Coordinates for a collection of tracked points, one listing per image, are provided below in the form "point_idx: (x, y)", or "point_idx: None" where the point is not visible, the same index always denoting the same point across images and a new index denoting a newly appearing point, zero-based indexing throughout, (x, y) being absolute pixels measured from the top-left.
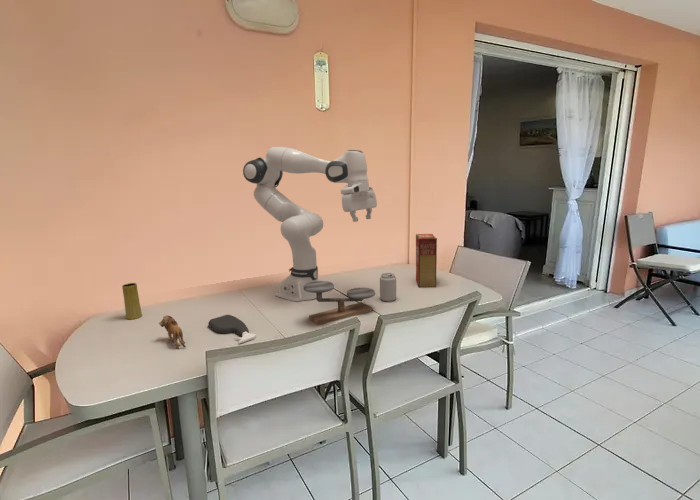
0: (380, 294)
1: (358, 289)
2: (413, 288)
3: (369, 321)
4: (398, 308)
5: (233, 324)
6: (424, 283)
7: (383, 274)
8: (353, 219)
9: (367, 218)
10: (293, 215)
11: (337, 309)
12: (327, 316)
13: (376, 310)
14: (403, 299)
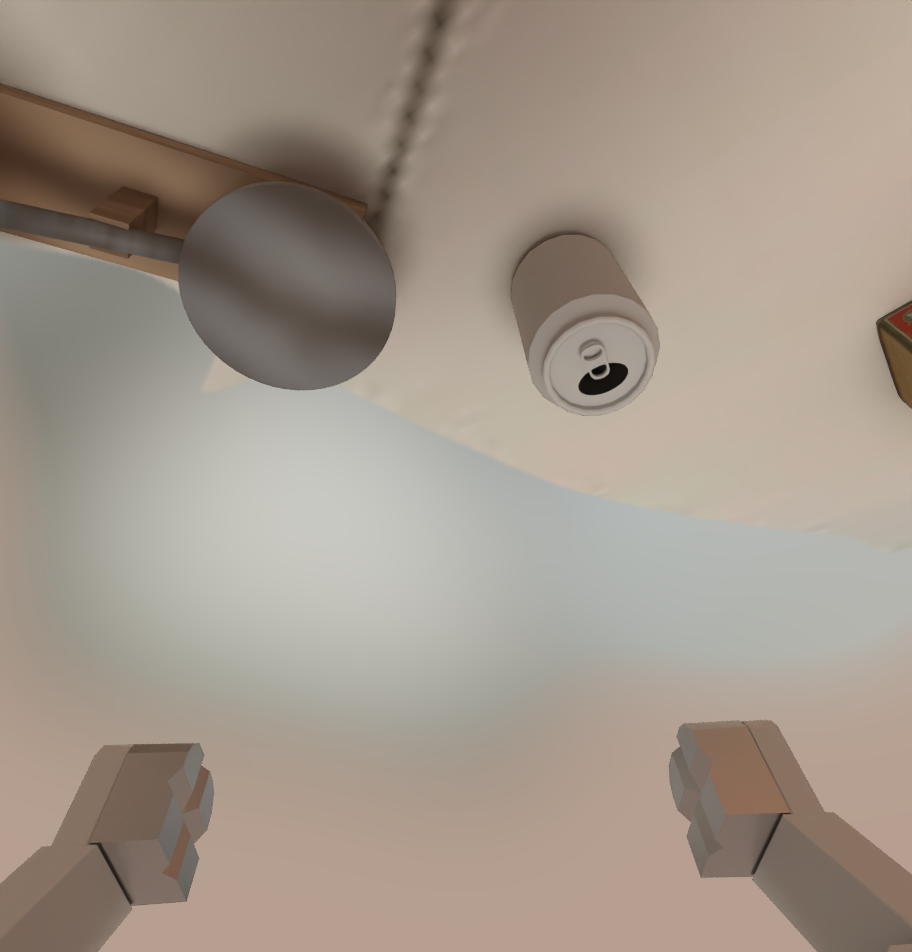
0: (526, 270)
1: (323, 246)
2: (845, 303)
3: (214, 389)
4: (459, 406)
5: None
6: (899, 362)
7: (611, 321)
8: (86, 811)
9: (688, 757)
10: None
11: (138, 161)
12: (6, 192)
13: None
14: None
